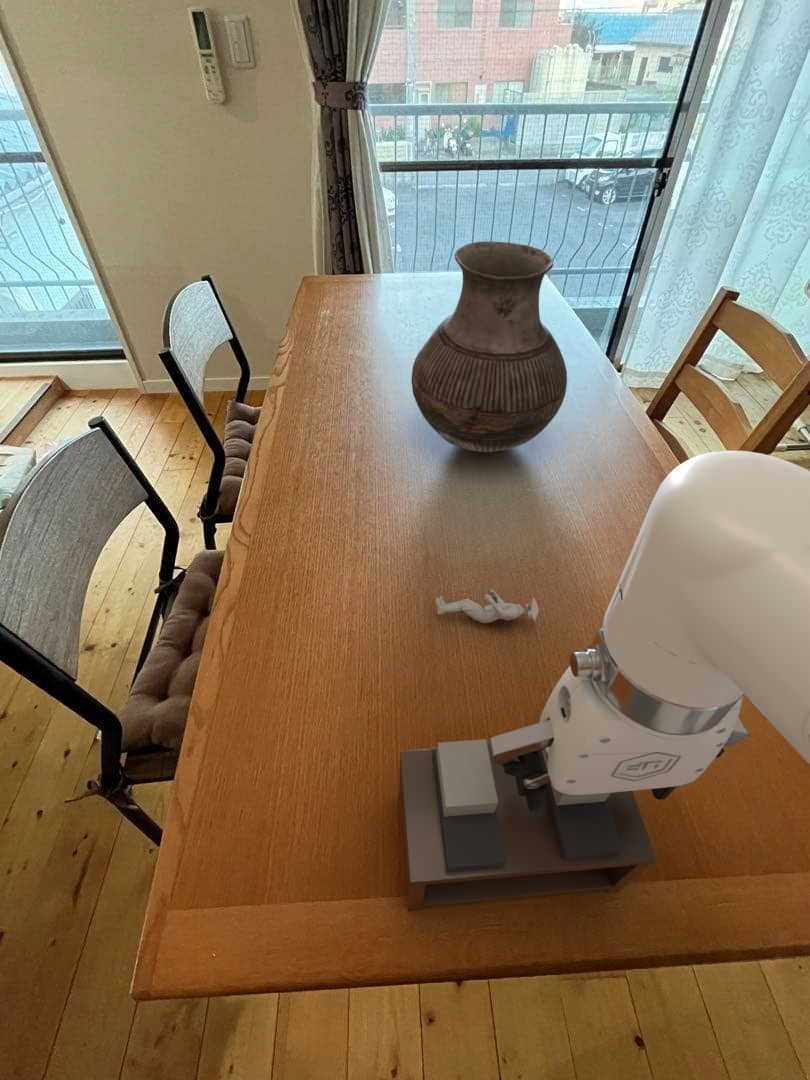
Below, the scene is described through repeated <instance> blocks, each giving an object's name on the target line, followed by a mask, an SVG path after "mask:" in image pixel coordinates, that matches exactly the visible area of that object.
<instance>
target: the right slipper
mask: <svg viewBox="0 0 810 1080" xmlns="http://www.w3.org/2000/svg"><path fill="white" fill-rule="evenodd" d="M538 754H539V758H540V761H541V765H542V769H543V768H545V767H547V766H548V759H547V755H546V751H545V750H543V751H541V752H539V753H538ZM546 785H547V793H546V794H547V798H548V802H549V806H550V810H551V814H552V818H553V822H554V826H555V830H556V834H557V838H558V842H559V846H560V850H561V854H562V858H563V859H574V858H585V857H596V856H607V855H618V854H619V853H620V852H621V851H622V846H621V843H620V840H619V837H618V834H617V831H616V828H615V824H614V821H613V818H612V815H611V812H610V809H609V806H608V803H607V800H606V799H607V798H608V796H609V795H610V794H611V793H600V794H586V795H569V794H564V793H561V792H559V791H557V790H556V789H554V788H553V786H552V783H551V782H550V783H547V784H546Z"/></svg>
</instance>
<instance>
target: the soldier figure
mask: <svg viewBox="0 0 810 1080" xmlns="http://www.w3.org/2000/svg"><path fill="white" fill-rule="evenodd" d="M489 592H491V593H493V594H491V595H490V594H488V593H485V594H484V600H487V601H488V602H489V603H490V604H487V605H483V607H484V608H483V607H482V606H481V605H480V604H479V603H477V602H476V601H474V600H471V599H469V598H465V599H464V598H463V599H460V600H457V601H454V602H449V603H447V602H445V601H444V597H443V595H439V597H436V599H435V606H436V607H437V615H438V616H440V615H444V614H453V613H459V612H463V613H464V614H465V615H466V616H468V617H470V618H472V619H473V620H474V621H477V622H479V623H482V624H487V623H493V622H496V621H497V620H498V619H499V620H502V621H507V622H508V621H510V620H511V621H512V620H517V619H518V618H519V617H521V616H523V614H525V618H526V619H527V620H531V619H532V620H533V622H536V620H537V618H538V616H539V613H540V608H539V605H538V603H537V600H536V599H535V597H533V598H532V600H531V603H525V608H524V607H523V606H522V604H520V603H513V602H505V601H504V600H503V598H501V596H500V595H499V594H498V593H497V592H496V591H495V590H493V589H489ZM493 597H494V598H496V601H495V600H494V598H493ZM527 607H529V611H528V612H526V608H527ZM527 614H528V616H527Z"/></svg>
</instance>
